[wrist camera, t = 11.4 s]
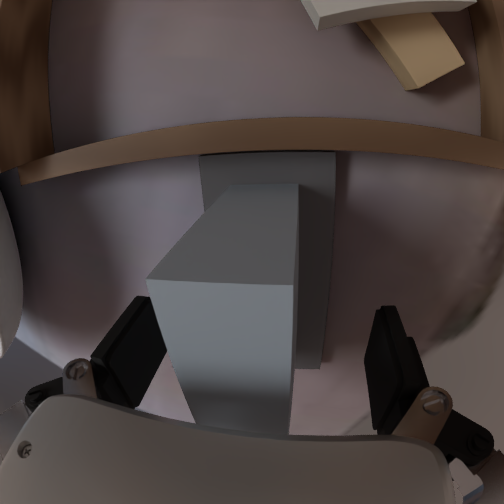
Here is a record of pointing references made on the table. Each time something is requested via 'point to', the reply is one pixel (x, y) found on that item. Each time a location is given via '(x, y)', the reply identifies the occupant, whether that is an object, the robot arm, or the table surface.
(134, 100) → the table surface
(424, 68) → the offcut lower
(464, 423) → the robot arm
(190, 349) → the light grey block
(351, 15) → the offcut upper
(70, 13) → the table surface
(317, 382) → the table surface
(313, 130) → the wooden tray
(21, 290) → the serving bowl
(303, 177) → the mat
